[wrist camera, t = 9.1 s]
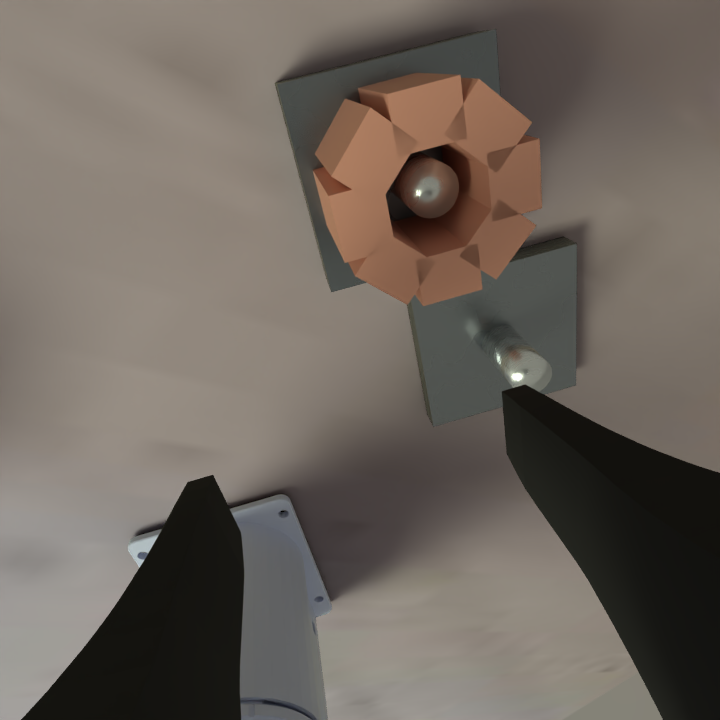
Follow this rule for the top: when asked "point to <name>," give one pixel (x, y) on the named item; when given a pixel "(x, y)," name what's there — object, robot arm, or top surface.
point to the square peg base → (330, 87)
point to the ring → (460, 152)
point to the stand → (500, 334)
